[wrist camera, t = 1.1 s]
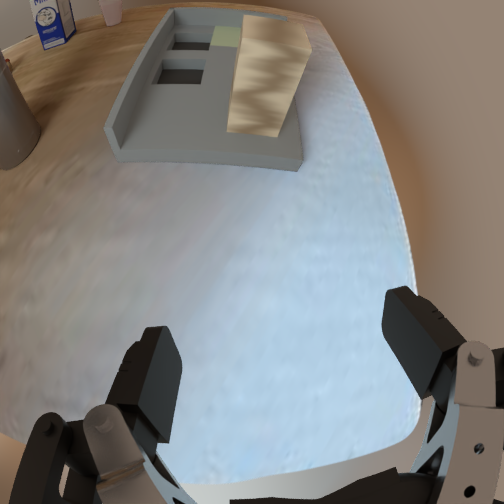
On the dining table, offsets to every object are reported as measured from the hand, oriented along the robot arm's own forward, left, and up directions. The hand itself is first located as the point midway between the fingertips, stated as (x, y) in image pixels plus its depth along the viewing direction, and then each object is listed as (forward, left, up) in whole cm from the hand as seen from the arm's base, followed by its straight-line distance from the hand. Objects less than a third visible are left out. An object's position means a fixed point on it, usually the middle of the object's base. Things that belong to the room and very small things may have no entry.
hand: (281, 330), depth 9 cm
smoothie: (-51, +48, -18) cm, 72 cm away
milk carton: (-63, +40, -18) cm, 76 cm away
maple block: (-7, +24, -15) cm, 29 cm away
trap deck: (-16, +32, -17) cm, 40 cm away
